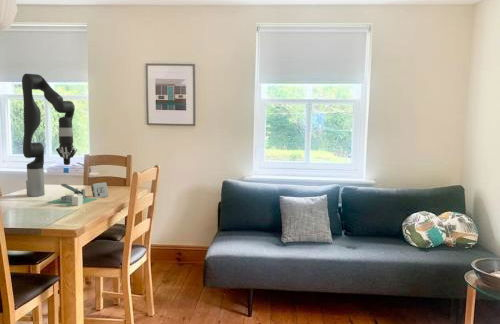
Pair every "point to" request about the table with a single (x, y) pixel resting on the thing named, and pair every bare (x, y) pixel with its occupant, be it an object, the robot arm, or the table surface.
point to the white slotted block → (67, 199)
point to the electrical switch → (99, 190)
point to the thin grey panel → (71, 188)
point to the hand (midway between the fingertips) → (67, 164)
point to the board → (71, 203)
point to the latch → (76, 199)
